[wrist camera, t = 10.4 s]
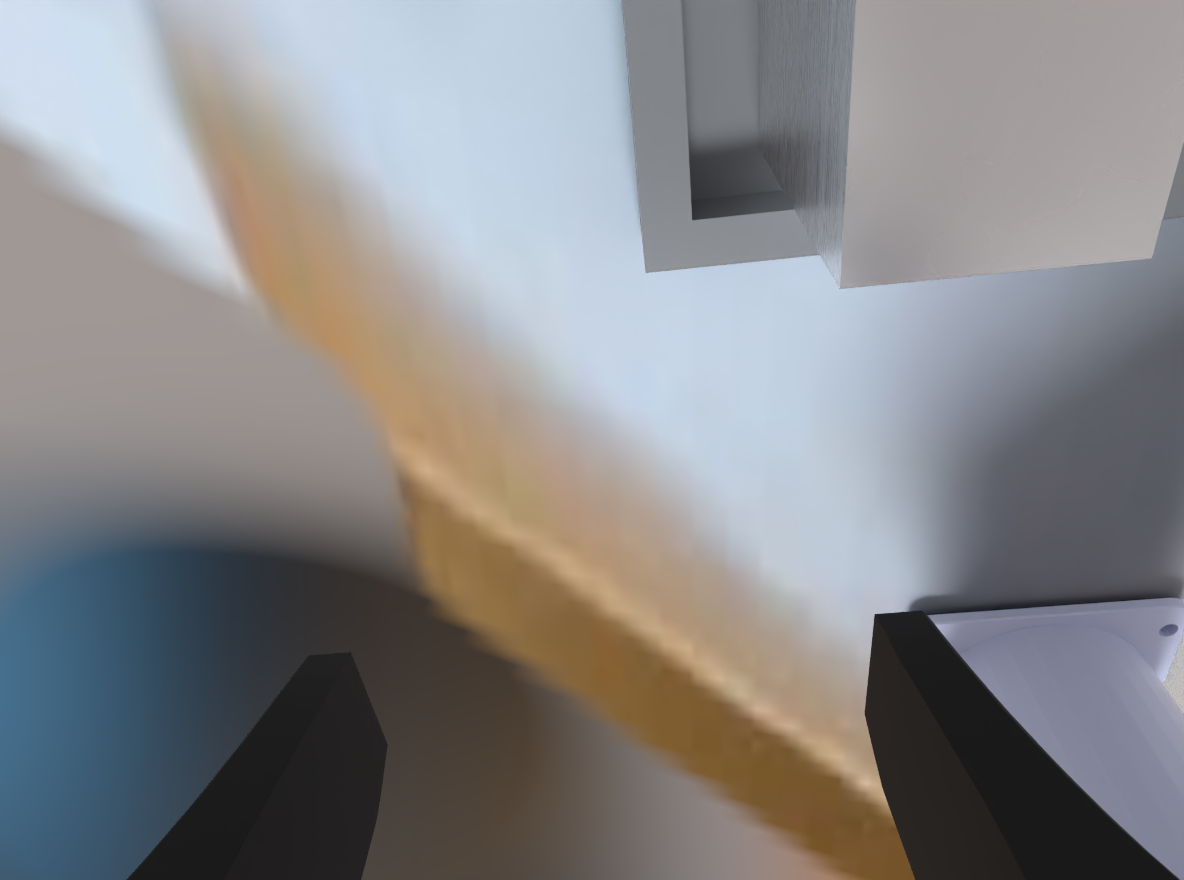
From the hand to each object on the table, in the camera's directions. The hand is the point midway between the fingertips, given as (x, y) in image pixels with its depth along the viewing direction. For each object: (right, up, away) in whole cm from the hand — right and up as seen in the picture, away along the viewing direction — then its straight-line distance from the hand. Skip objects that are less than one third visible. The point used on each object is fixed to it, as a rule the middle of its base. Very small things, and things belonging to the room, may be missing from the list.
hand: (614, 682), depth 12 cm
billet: (+5, +12, +4) cm, 13 cm away
